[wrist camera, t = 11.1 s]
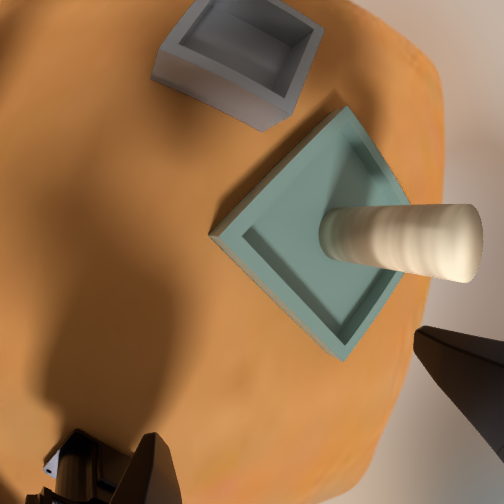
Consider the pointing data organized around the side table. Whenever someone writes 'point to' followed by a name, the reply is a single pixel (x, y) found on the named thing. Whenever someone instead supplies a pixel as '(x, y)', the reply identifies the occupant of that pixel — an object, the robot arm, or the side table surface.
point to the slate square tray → (240, 57)
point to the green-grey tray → (315, 232)
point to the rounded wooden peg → (407, 238)
